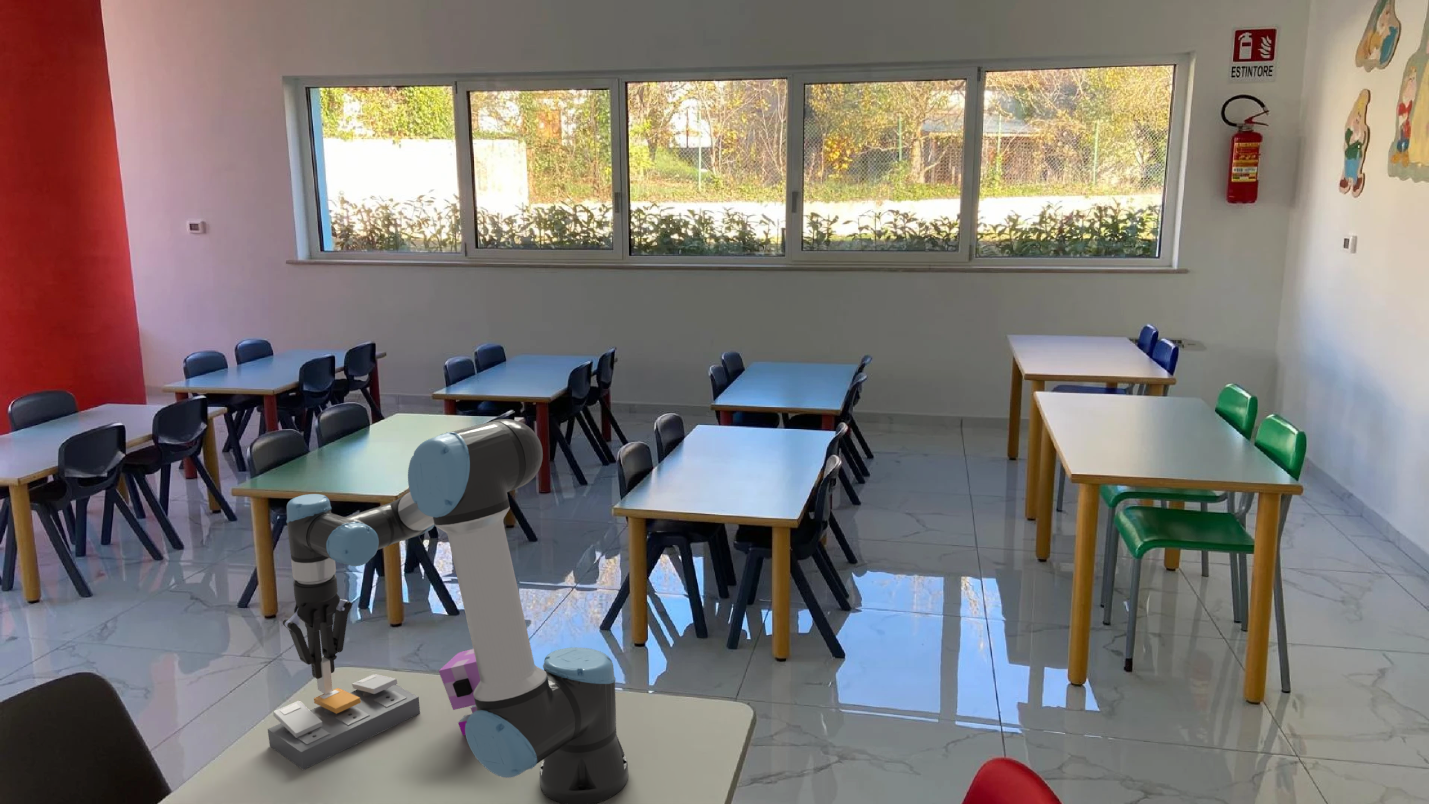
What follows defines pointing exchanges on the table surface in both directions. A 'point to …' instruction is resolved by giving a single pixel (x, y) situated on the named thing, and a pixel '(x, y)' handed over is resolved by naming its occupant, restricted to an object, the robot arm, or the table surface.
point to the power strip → (345, 726)
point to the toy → (461, 682)
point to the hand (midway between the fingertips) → (325, 690)
